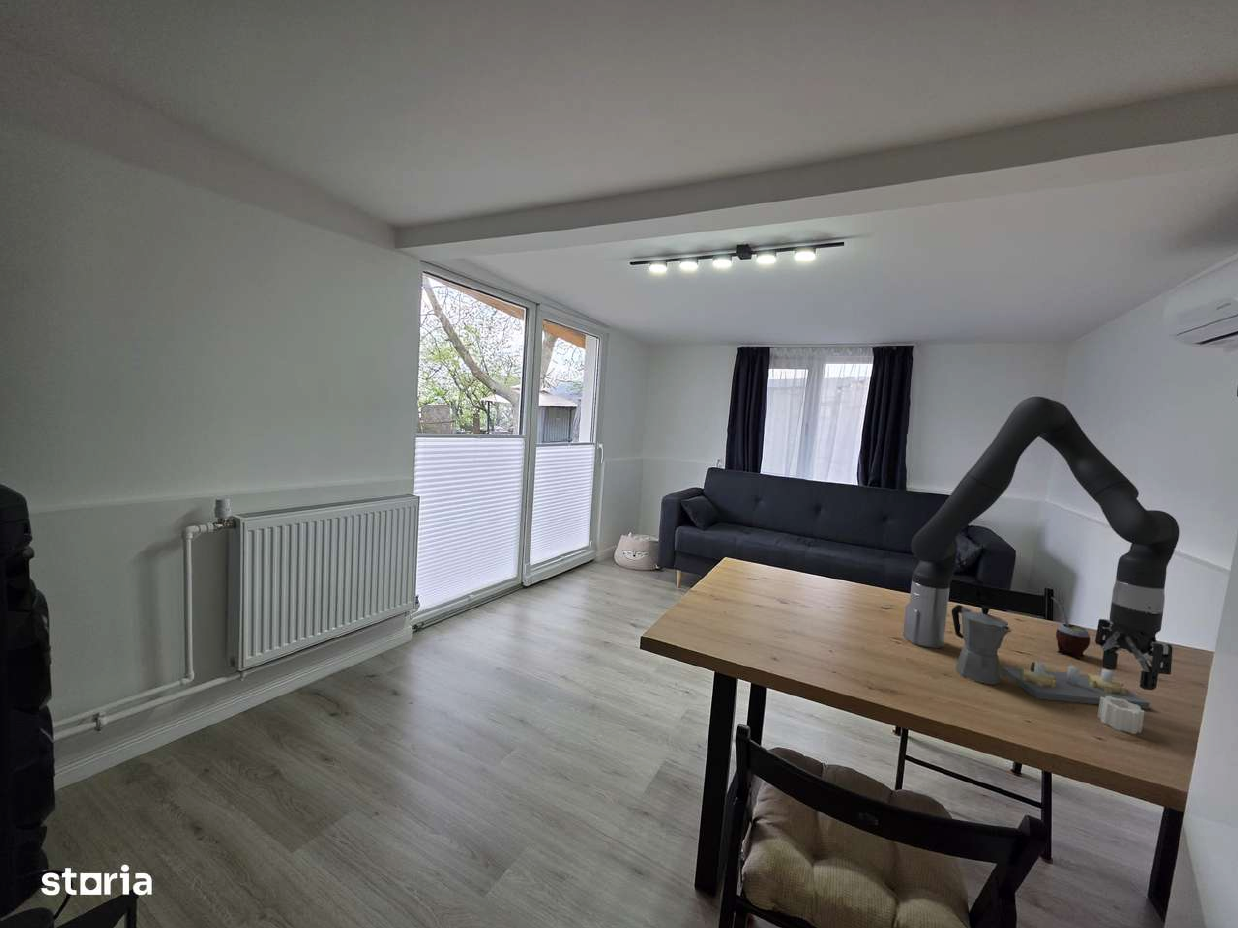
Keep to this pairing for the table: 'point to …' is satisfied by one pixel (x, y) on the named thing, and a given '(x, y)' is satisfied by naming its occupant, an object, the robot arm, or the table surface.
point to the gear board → (1071, 685)
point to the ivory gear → (1121, 714)
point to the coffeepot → (979, 644)
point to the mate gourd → (1071, 638)
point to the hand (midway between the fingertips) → (1127, 678)
